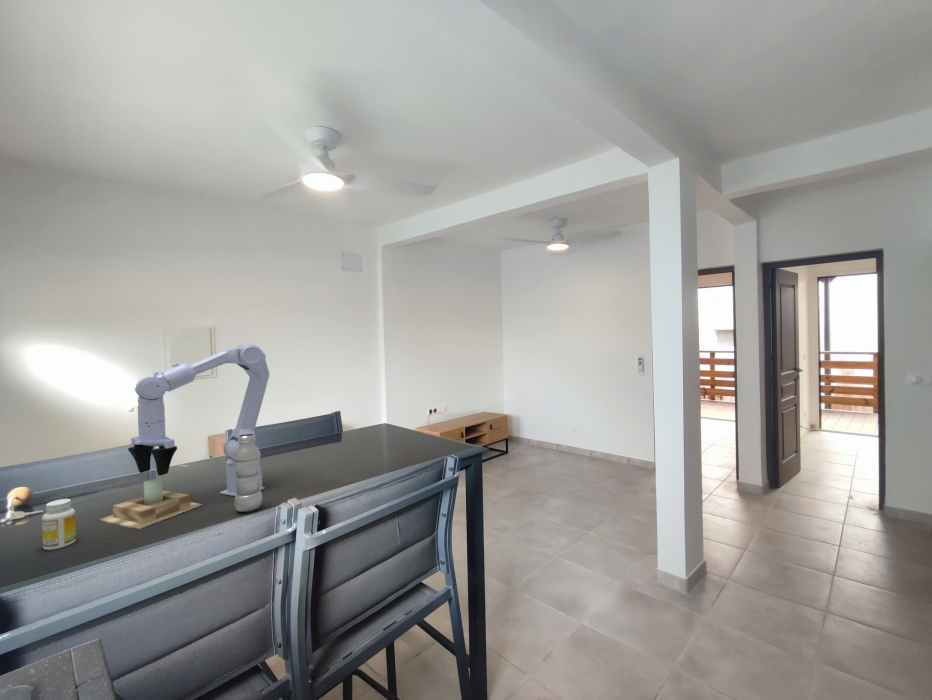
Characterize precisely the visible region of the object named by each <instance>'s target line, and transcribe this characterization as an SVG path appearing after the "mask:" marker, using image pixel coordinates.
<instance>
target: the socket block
mask: <svg viewBox="0 0 932 700" xmlns="http://www.w3.org/2000/svg"><path fill="white" fill-rule="evenodd" d="M191 500H192V499H191V494H185V493H180V492H174V491H168V490H163V501H160V502H157V503H154V504H151V505H148V506H146V505H144V495H142V496H139V497H135V498H133V499H132V498H131V499H129V500H126V501H123V502H120V503H117V504H113V505H112V514H110V515H108V516H105V517H102V518H99V520H98V521H99V522H103V523H107V524H110V525H111V524H112V525H116V526H120V527H125V528H129V529H133V530H137V529H138V531H140V530H143V529H145V527H146V528H148V527H151V526H153V525H152V524H154V525H156V524H159V523H162V522H164V521H166V520H165V519H167V520H169V519H171V517H172V518H174V517H173V516H175V517H177V516H179V515H178V514H180V515H181V513H183V512H185V513H187V512H186V511H188V512H190V511H192V510H191V509H193V510H195V509H194V508H196V509H198V508H201V507H203V505H204V504H202V503H197V502H192V501H191ZM200 506H201V507H200ZM197 507H198V508H197ZM189 510H190V511H189ZM183 514H184V513H183ZM176 515H177V516H176ZM168 518H169V519H168ZM163 520H164V521H163ZM158 522H159V523H158ZM155 523H156V524H155ZM150 525H151V526H150ZM147 526H148V527H147ZM142 528H143V529H142Z"/></svg>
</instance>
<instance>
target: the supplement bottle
mask: <svg viewBox="0 0 932 700" xmlns="http://www.w3.org/2000/svg"><path fill="white" fill-rule="evenodd" d="M71 506H72V499H70V498H61V499H56V500H52V501H50V502H47V503H46V504H45V510H46V513H44V514H43V515H42V517H41V525H42V526H41V529H42V530H41V532H42V533H41V534H42V535H41V536H42V548H43V550H46V551H53V550H58V549H62V548H65V547H67V546H70V545H71V544H73V543H75V542H76V539H77V538H76V537H77V535H76V533H77V532H76V531H77V530H76V528H77V527H76V510H75V509H74V508H73V507H71Z"/></svg>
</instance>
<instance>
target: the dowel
mask: <svg viewBox="0 0 932 700" xmlns="http://www.w3.org/2000/svg"><path fill="white" fill-rule="evenodd" d="M163 483H164V482H163V478H159V477H158V478H151V479H148V480H144V481H143V496H144V505H146V506H148V505H151V504H154V503H157V502H160V501H163V491H164V489H163V488H164V486H163Z"/></svg>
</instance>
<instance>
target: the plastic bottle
mask: <svg viewBox="0 0 932 700" xmlns="http://www.w3.org/2000/svg"><path fill="white" fill-rule="evenodd" d="M254 441H255V442H256V439H254V434H243V435H239V441H238V443H240V445H239V447H238V448H237V449H236V451H235V453H234V455H233V461H234V465H235V470H236V477H237V478H236V480H237V484H236V495H235V496H234V507H235V509H236V510H237V511H238V513H239V512H240V513H246V512H247V513H248V512H252V511H254V510H257V509H259V508H260V507H261V505H263V504H262V503H263V494H262V490H260V483H259V465H261V464H260V463H261V451H260V449H259V448H258V446H257V445H256V444H254Z"/></svg>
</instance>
